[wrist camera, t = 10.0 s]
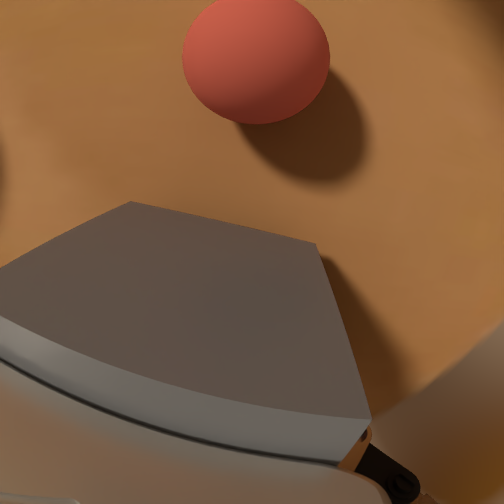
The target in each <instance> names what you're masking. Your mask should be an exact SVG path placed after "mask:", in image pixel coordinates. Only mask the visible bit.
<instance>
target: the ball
mask: <svg viewBox="0 0 504 504" xmlns="http://www.w3.org/2000/svg"><path fill="white" fill-rule="evenodd" d="M182 60H183V69H184V73H185V76H186V79H187V82H188V84H189V86H190V87H191V89H192V91H193V93H194V94H195V95H196V97H197V98H198V99H199V100H200V101H201V102H202V103H203V104H204V105H205V106H206V107H207V108H209V109H210V110H212V111H213V112H215V113H216V114H218V115H220V116H222V117H224V118H226V119H229V120H232V121H235V122H239V123H245V124H268V123H274V122H278V121H281V120H284V119H286V118H289V117H291V116H293V115H295V114H297V113H298V112H300V111H301V110H303V109H304V108H305V107H307V106H308V105H309V104H310V103H311V102H312V101H313V100H314V99H315V97H316V96H317V95H318V94H319V92H320V90H321V89H322V87H323V85H324V83H325V81H326V78H327V74H328V71H329V64H330V52H329V44H328V41H327V38H326V35H325V32H324V30H323V29H322V27H321V25H320V24H319V22H318V21H317V19H316V18H315V17H314V16H313V15H312V14H311V12H309V11H308V10H307V9H306V8H305V7H304V6H302V5H301V4H299V3H298V2H296V1H295V0H217V1H215V2H214V3H212V4H211V5H210V6H208V7H207V8H206V9H205V10H203V11H202V12H201V13H200V15H199V16H198V17H197V18H196V19H195V21H194V22H193V24H192V25H191V27H190V29H189V31H188V33H187V35H186V38H185V42H184V45H183V54H182Z"/></svg>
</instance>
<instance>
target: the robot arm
mask: <svg viewBox="0 0 504 504" xmlns="http://www.w3.org/2000/svg"><path fill="white" fill-rule="evenodd" d="M371 437H372V432H371V428H370V427H369V425H368V427H367V428H366V430H365V431H364V432H363V434H362V435H361V436H360V438H359V439H358V440H357V442H356V443H355V444H354V446H353V447H352V448H351V450H350V451H349V452H348V454H347V455H346V456H345V457H344V459H343V460H342V461H341V462H340V464H339V465H338V466H333V465H329V464H324V463H318V462H313V461H305V460H297V459H290V458H284V457H277V456H271V455H264V454H258V453H252V452H246V451H241V450H236V449H231V448H226V447H221V446H217V445H212V444H208V443H204V442H200V441H196V440H192V439H188V438H184V437H181V436H177V435H174V434H170V433H167V432H163V431H160V430H157V429H153V428H150V427H147V426H144V425H141V424H138V423H135V422H132V421H129V420H127V419H124V418H121V417H118V416H116V415H113V414H111V413H108V412H105V411H103V410H100V409H98V408H96V407H93V406H91V405H88V404H86V403H84V402H81V401H79V400H77V399H75V398H72V397H70V396H68V395H66V394H64V393H62V392H60V391H57V390H55V389H53V388H51V387H49V386H47V385H45V384H43V383H41V382H39V381H37V380H36V379H34V378H32V377H30V376H28V375H26V374H24V373H23V372H21V371H19V370H17V369H16V368H14V367H12V366H10V365H9V364H7V363H5V362H3V361H1V360H0V504H439V503H437V502H436V501H435V500H434V499H433V498H432V497H431V496H429V495H428V494H425V495H422V494H421V493H420V483H419V480H418V479H417V477H416V476H415V475H414V474H413V473H412V472H410V471H409V470H407V469H406V468H404V467H403V466H402V465H400V464H399V463H397V462H396V461H394V460H393V459H391V458H390V457H389V456H387V455H386V454H384V453H383V452H382V451H380V450H379V449H377V448H376V447H375V446H373V445H372V444H371V443H370V440H371Z"/></svg>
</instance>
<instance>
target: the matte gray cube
mask: <svg viewBox="0 0 504 504" xmlns="http://www.w3.org/2000/svg"><path fill="white" fill-rule="evenodd" d="M0 360H1V361H3V362H5V363H7V364H9V365H10V366H12V367H14V368H16V369H17V370H19V371H21V372H23V373H24V374H26V375H28V376H30V377H32V378H34V379H36V380H37V381H39V382H41V383H43V384H45V385H47V386H49V387H51V388H53V389H55V390H57V391H60V392H62V393H64V394H66V395H68V396H70V397H72V398H75V399H77V400H79V401H81V402H84V403H86V404H88V405H91V406H93V407H96V408H98V409H100V410H103V411H105V412H108V413H111V414H113V415H116V416H118V417H121V418H124V419H127V420H129V421H132V422H135V423H138V424H141V425H144V426H147V427H150V428H153V429H157V430H160V431H163V432H167V433H170V434H174V435H177V436H181V437H184V438H188V439H192V440H196V441H200V442H204V443H208V444H212V445H217V446H221V447H226V448H231V449H236V450H241V451H246V452H252V453H258V454H264V455H271V456H277V457H284V458H290V459H297V460H305V461H313V462H318V463H324V464H329V465H333V466H338V465H339V464H340V462H341V461H342V460H343V459H344V457H345V456H346V455H347V454H348V452H349V451H350V450H351V448H352V447H353V446H354V444H355V443H356V442H357V440H358V439H359V438H360V436H361V435H362V434H363V432H364V431H365V430H366V428H367V427H368V425H369V424H370V422H371V421H372V416H371V413H370V409H369V406H368V402H367V399H366V395H365V392H364V388H363V385H362V381H361V378H360V375H359V371H358V368H357V365H356V362H355V358H354V355H353V352H352V349H351V346H350V342H349V339H348V336H347V333H346V330H345V327H344V324H343V321H342V318H341V315H340V312H339V309H338V306H337V303H336V300H335V297H334V294H333V291H332V289H331V286H330V283H329V280H328V277H327V274H326V272H325V269H324V266H323V263H322V261H321V258H320V255H319V252H318V250H317V247H316V244H315V243H311V242H307V241H303V240H298V239H294V238H290V237H286V236H282V235H278V234H274V233H269V232H265V231H261V230H257V229H252V228H248V227H244V226H240V225H235V224H231V223H227V222H222V221H218V220H214V219H209V218H205V217H200V216H196V215H191V214H187V213H182V212H178V211H173V210H169V209H164V208H160V207H155V206H150V205H146V204H141V203H136V202H132V201H130V202H128V203H126V204H123V205H121V206H119V207H117V208H115V209H112V210H110V211H108V212H106V213H104V214H102V215H100V216H98V217H95V218H93V219H91V220H89V221H87V222H85V223H83V224H81V225H79V226H77V227H75V228H73V229H71V230H69V231H67V232H65V233H63V234H61V235H59V236H57V237H55V238H54V239H52V240H50V241H48V242H46V243H44V244H42V245H40V246H38V247H37V248H35V249H33V250H31V251H29V252H28V253H26V254H24V255H22V256H20V257H19V258H17V259H15V260H13V261H12V262H10V263H8V264H7V265H5V266H3V267H1V268H0Z"/></svg>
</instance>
